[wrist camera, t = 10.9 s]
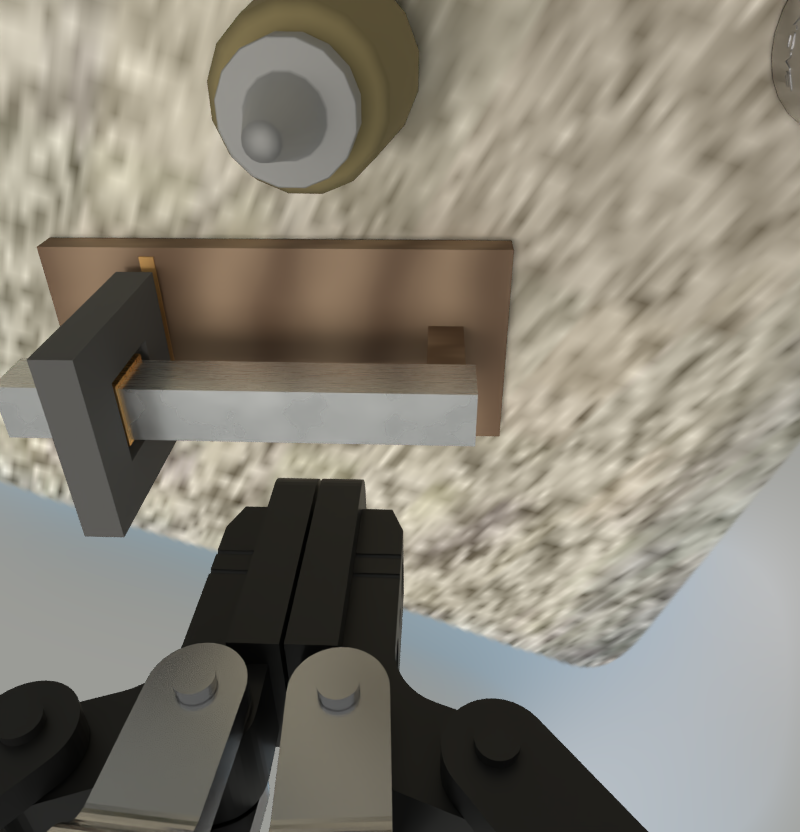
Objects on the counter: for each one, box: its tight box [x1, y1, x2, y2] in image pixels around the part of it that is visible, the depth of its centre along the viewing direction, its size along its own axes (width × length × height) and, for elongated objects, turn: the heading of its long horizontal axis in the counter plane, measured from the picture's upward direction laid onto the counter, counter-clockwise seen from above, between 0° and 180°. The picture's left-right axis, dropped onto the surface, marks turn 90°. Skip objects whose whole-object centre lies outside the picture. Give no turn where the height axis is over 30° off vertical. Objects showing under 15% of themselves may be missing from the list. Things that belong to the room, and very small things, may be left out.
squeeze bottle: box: [207, 0, 419, 194], centre depth 27 cm, size 8×8×18 cm
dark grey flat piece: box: [27, 272, 177, 537], centre depth 37 cm, size 2×10×10 cm, turn 0°
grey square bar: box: [0, 354, 478, 446], centre depth 37 cm, size 24×4×4 cm, turn 91°
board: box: [37, 238, 514, 436], centre depth 41 cm, size 26×12×6 cm, turn 91°
